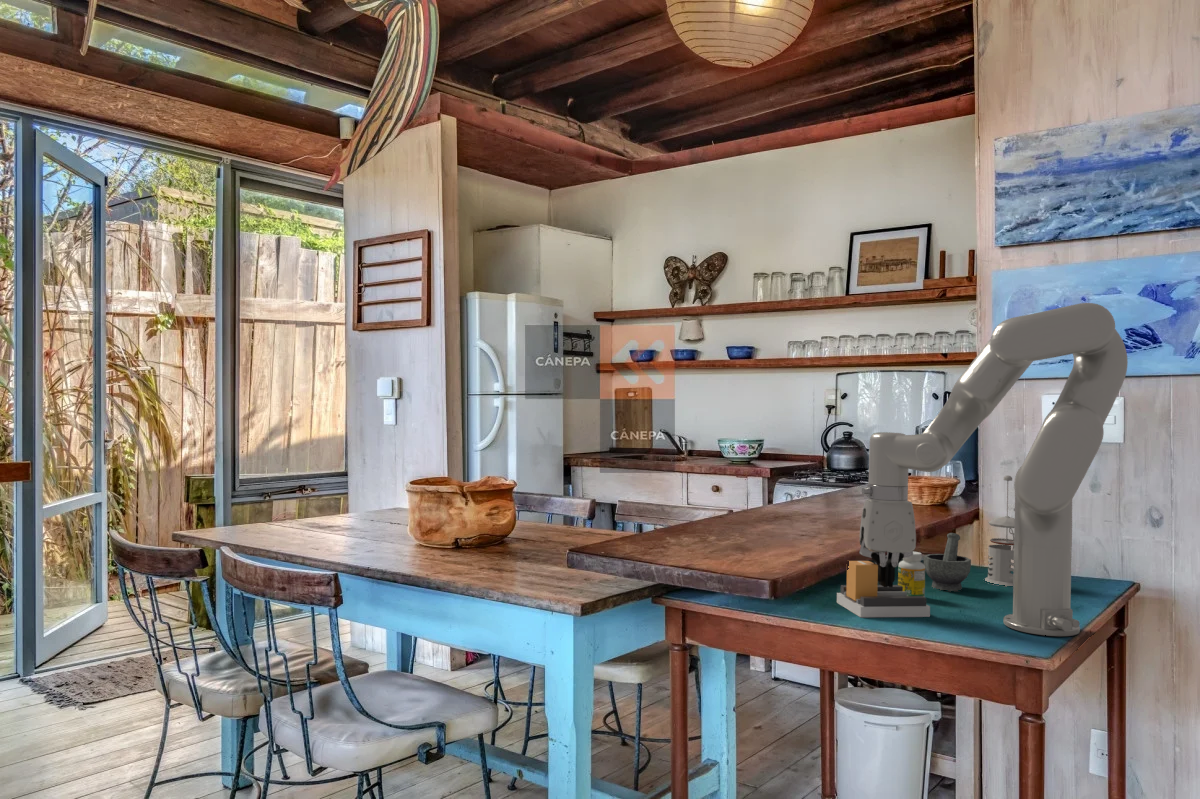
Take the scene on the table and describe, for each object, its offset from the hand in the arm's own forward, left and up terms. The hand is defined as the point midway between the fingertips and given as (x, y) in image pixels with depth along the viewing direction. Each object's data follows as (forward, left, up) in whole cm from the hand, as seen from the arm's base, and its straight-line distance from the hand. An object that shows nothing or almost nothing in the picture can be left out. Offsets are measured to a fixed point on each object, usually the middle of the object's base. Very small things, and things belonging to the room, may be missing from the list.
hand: (885, 585), depth 172 cm
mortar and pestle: (+19, -23, -5) cm, 30 cm away
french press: (+25, -41, -5) cm, 48 cm away
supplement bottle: (+10, -10, -5) cm, 15 cm away
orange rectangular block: (0, +5, -2) cm, 6 cm away
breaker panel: (0, +1, -5) cm, 5 cm away
